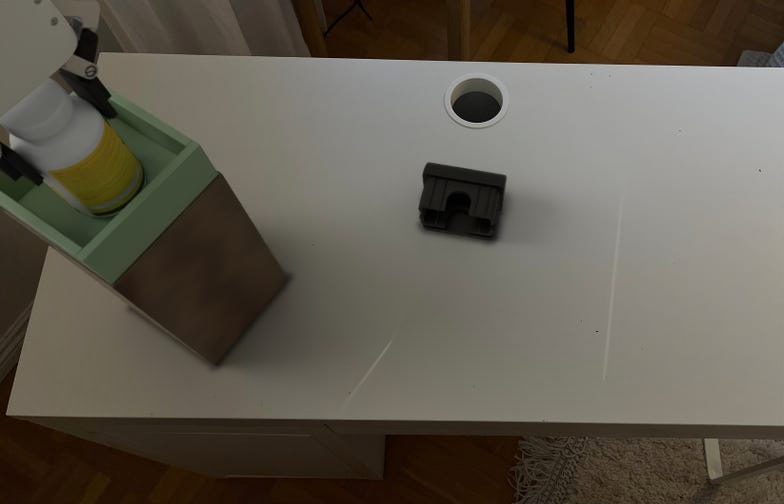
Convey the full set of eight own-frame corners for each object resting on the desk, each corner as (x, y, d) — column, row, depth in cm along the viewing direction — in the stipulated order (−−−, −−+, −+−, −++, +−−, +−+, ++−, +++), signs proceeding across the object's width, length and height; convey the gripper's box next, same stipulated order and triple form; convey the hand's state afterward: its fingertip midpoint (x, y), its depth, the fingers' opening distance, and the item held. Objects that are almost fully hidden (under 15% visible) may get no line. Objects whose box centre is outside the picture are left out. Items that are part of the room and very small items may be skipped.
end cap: (504, 193, 85) (508, 165, 79) (495, 241, 82) (498, 216, 76) (429, 181, 86) (427, 152, 79) (418, 228, 83) (414, 201, 76)
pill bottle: (165, 178, 56) (97, 91, 46) (109, 234, 54) (24, 155, 44) (111, 143, 58) (33, 51, 47) (53, 196, 55) (-42, 111, 45)
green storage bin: (112, 284, 53) (82, 261, 49) (5, 209, 55) (-32, 181, 51) (219, 174, 57) (200, 144, 53) (115, 109, 60) (90, 76, 56)
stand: (214, 366, 74) (112, 287, 53) (131, 307, 77) (1, 210, 55) (288, 278, 79) (222, 173, 58) (207, 226, 82) (115, 106, 60)
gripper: (-34, -174, 37) (115, 47, 54) (-337, 13, 31) (-63, 200, 47) (58, -125, 36) (183, 88, 52) (-241, 83, 29) (8, 251, 46)
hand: (65, 140), depth 50 cm, fingers closed on pill bottle, 6 cm apart
